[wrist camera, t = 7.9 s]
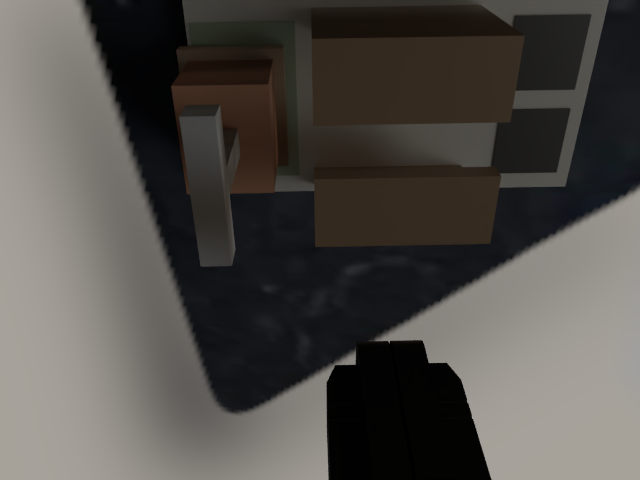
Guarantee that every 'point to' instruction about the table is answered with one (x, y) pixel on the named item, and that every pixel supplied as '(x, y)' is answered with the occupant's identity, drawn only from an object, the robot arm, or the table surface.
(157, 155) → the table surface
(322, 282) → the table surface
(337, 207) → the tunnel
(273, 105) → the sled
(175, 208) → the table surface
